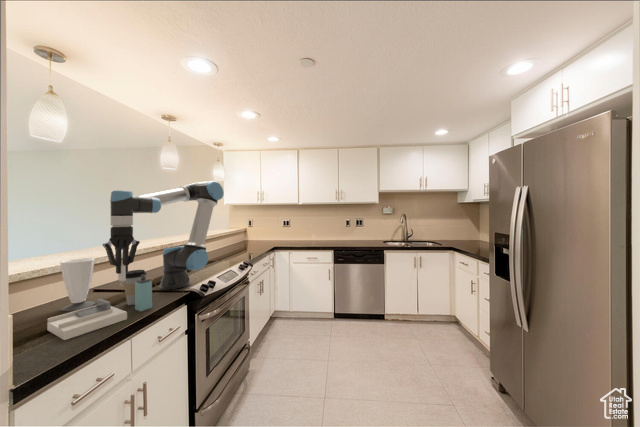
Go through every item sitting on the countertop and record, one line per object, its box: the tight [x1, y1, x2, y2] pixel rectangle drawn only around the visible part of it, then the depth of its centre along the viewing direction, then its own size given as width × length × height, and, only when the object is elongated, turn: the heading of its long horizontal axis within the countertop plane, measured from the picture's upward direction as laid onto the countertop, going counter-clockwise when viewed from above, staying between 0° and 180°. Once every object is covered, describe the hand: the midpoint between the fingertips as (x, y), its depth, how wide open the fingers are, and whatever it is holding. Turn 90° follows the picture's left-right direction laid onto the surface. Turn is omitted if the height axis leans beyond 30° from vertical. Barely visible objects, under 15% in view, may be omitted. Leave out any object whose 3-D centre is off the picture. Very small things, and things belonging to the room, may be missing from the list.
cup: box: [59, 257, 96, 312], centre depth 111 cm, size 12×12×22 cm
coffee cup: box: [123, 269, 147, 306], centre depth 115 cm, size 9×9×15 cm
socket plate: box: [46, 304, 128, 341], centre depth 93 cm, size 18×16×4 cm
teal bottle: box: [134, 274, 153, 312], centre depth 108 cm, size 5×5×15 cm
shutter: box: [76, 298, 112, 317], centre depth 95 cm, size 8×9×4 cm
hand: (122, 280), depth 104 cm, fingers closed
